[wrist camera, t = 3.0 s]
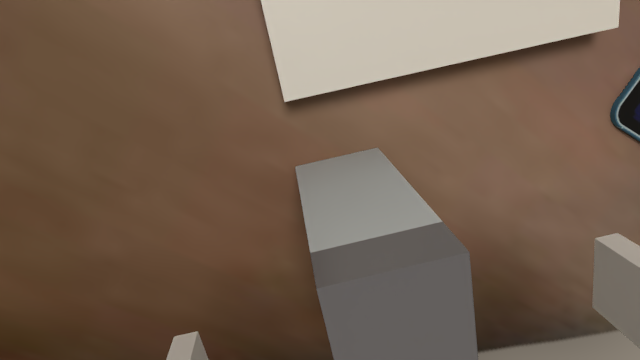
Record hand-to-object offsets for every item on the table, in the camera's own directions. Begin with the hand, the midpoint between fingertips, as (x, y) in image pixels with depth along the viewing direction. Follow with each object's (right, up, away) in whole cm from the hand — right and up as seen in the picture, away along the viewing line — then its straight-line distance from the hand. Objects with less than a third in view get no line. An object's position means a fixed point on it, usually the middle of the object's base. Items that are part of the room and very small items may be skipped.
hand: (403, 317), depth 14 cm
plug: (-1, +4, +9) cm, 10 cm away
